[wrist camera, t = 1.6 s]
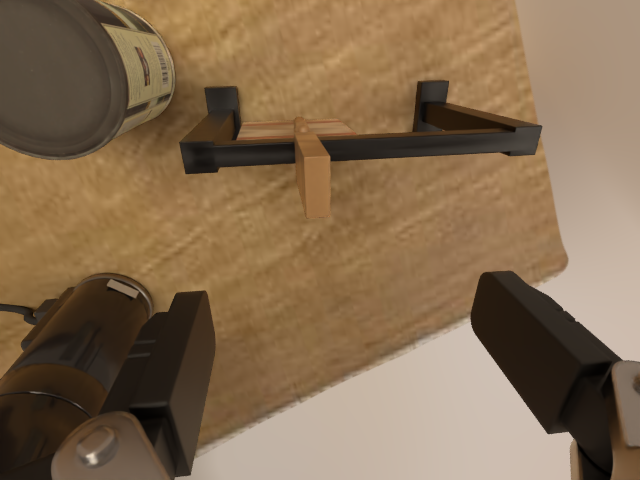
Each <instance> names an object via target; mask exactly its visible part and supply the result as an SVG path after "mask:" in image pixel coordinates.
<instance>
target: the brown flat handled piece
mask: <svg viewBox="0 0 640 480" xmlns="http://www.w3.org/2000/svg"><path fill="white" fill-rule="evenodd" d="M343 135H357V134H356V133H355V132H353V131H352V130H351V129H350V128H349V127H347V126H346V125H345V124H344V123H342V122H341V121H340V120H339V119H312V120H304V119H303V118H302V117H296V118H295V119H294V120H287V121H262V122H243V123H242V125H241V128H240V131H239V134H238V137H237V139H236V140H255V139H277V138H294V143H295V163H296V181H297V185H298V189H299V192H300V196H301V200H302V204H303V208H304V212H305V216H306V218H307V219H308V218H322V217H330V155H329V154H328V152H327V151H326V149H325V148H324V146H323V145H322V143H321V142H320V140H319V139H318V137H321V136H343Z"/></svg>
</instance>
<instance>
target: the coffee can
mask: <svg viewBox="0 0 640 480" xmlns="http://www.w3.org/2000/svg"><path fill="white" fill-rule="evenodd" d="M175 82H176V81H175V70H174V64H173V60H172V58H171V55H170V52H169V50H168V48H167V46H166V44H165V42H164V41H163V39H162V37H161V36H160V35H159V33H158V32H157V31H156V30H155V29H154V28H153V27H152V26H151V25H150V24H149V23H148V22H147V21H146V20H144V19H143V18H142V17H140V16H139V15H137V14H136V13H134V12H132V11H130V10H128V9H125V8H123V7H120V6H117V5H113V4H108V3H105V2H102V1H99V0H0V144H2V145H4V146H6V147H8V148H10V149H12V150H14V151H17V152H19V153H22V154H25V155H29V156H32V157H36V158H41V159H48V160H69V159H76V158H80V157H83V156H86V155H89V154H91V153H93V152H95V151H97V150H99V149H100V148H102V147H103V146H105V145H106V144H107V143H108V142H110V141H111V140H112V139H114V138H116V137H118V136H120V135H121V134H123V133H125V132H127V131H129V130H131V129H133V128H135V127H136V126H138V125H140V124H142V123H144V122H147V121H149V120H151V119H153V118H155V117H157V116H159V115H160V114H161V113H162V112H163V111H164V110H165V108H166V107H167V106H168V104H169V103H170V101H171V98H172V96H173V93H174V88H175Z"/></svg>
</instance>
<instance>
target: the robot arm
mask: <svg viewBox="0 0 640 480" xmlns="http://www.w3.org/2000/svg"><path fill="white" fill-rule="evenodd" d="M0 311H9V312H15V313H19V314H22V315H24V320H25V321H26V322H27V323H29V324H32V325H36V326H35V327H34V328H33V329H32V330H31V331H30V333H29V334H28V335H27V336H26V337H25V338H24V339H23V341H22V342H21V348H22V350H23V351H24V352H23V353H22V354H21V355H20V356H19V358H18V359H17V360H16V361H15V362H14V364H13V365H12V366H11V367H10V368H9V370H8V371H7V372H6V373H5V375H4V376H3V377H2V378H1V379H0V480H174V478H175V477H180V476H189V475H191V471H192V466H193V461H194V456H195V451H196V446H197V441H198V436H199V431H200V426H201V421H202V416H203V411H204V406H205V401H206V396H207V391H208V386H209V381H210V376H211V371H212V366H213V361H214V356H215V332H214V326H213V321H212V315H211V310H210V305H209V299H208V295H207V292H206V291H192V292H178V293H176V294H175V296H174V299H173V301H172V304H171V306H170V308H169V311H168V312H159V313H155V314H154V315H153V316H152V313H153V302H152V299H151V297H150V295H149V293H148V292H147V291H146V289H145V288H144V287H142V286H141V285H140V284H139V283H137V282H136V281H134V280H132V279H130V278H128V277H125V276H122V275H117V274H108V273H106V274H97V275H93V276H90V277H87V278H86V279H84V280H82V281H81V282H80V283H79V284H78V285H77V286H76V287H71V288H67V290H66V291H65V292H64V293H63V294H62V295H61V297H60V298H59V299H49V300H45V301H44V303H43V304H42V305H41V306H40V307H39V308H38V309H37V310H36V311H35V312H34V315H35V317H33V311H32V310H30V309H28V308H26V307H22V306H16V305H7V304H0ZM151 316H152V317H151ZM471 325H472V328H473V331H474V333H475V334H476V336H477V337H478V339H479V340H480V341H481V343H482V344H483V345H484V347H485V348H486V349H487V351H488V352H489V354H490V355H491V356H492V358H493V359H494V361H495V362H496V363H497V365H498V366H499V368H500V369H501V370H502V372H503V373H504V374H505V376H506V377H507V379H508V380H509V381H510V383H511V384H512V385H513V387H514V388H515V389H516V391H517V392H518V394H519V395H520V396H521V398H522V399H523V401H524V402H525V403H526V405H527V406H528V407H529V409H530V410H531V412H532V413H533V414H534V416H535V417H536V418H537V420H538V421H539V423H540V424H541V425H542V427H543V428H544V429H545V431H546V432H547V434H554V433H562V432H569V433H570V434H571V435H572V437H573V438H574V439H573V441H572V443H571V446H570V464H571V480H640V362H637V361H629V360H628V361H623V360H622V359H621V358H620V357H618V356H617V355H616V354H615V353H614V352H613V351H611V350H610V349H609V348H608V347H607V346H606V345H605V344H604V343H602V342H601V341H600V340H599V339H598V338H597V337H595V336H594V335H593V334H592V333H591V332H590V331H589V330H587V329H586V328H585V327H584V326H583V325H582V324H580V323H579V322H576V321H575V318H573V317H572V316H571V315H570V314H569V313H568V312H567V311H563V308H562V307H561V306H560V305H559V304H557V303H556V302H555V301H554V300H553V299H552V298H551V297H549V296H548V295H546V294H544V293H542V292H540V291H538V290H537V289H535V288H533V287H531V286H529V285H528V284H526V283H525V282H524V281H523V280H522V279H521V278H520V277H519V276H518V275H516V274H515V273H514V272H512V271H496V272H485V273H483V274H482V275H481V276H480V279H479V282H478V286H477V290H476V294H475V298H474V302H473V306H472V310H471Z"/></svg>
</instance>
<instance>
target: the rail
mask: <svg viewBox="0 0 640 480" xmlns="http://www.w3.org/2000/svg"><path fill="white" fill-rule="evenodd" d="M448 85H449V81H445V80H440V81H418V85H417V95H416V105H415V114H414V124H413V132H409V133H387V134H365V135H343V136H321V137H318V139H319V140H320V142H321V143H322V145H323V146H324V148H325V149H326V151H327V152H328V154H329V155H330V162H331V161H349V160H368V159H386V158H405V157H424V156H442V155H461V154H479V153H498V152H500V153H503V154H505V155H508V156H522V155H535V152H536V149H537V145H538V141H539V138H540V134H541V130H542V126H541V125H537V124H533V123H528V122H524V121H520V120H516V119H512V118H508V117H504V116H499V115H495V114H491V113H487V112H483V111H479V110H475V109H470V108H466V107H462V106H458V105H454V104H450V103H446V99H447V92H448ZM205 95H206V101H207V107H208V115H207V116H206V117H205V118H204V119H203V120H202V121H201V122H200V123H199V124H198V125H197V126H196V127H195V128H194V129H193V130H192V131H191V132H190V133H189V134H188V135H187V136H185V137H184V138H183V139H182V140H181V141H180V142H179V143H180V148H181V153H182V158H183V163H184V168H185V173H186V174H198V173H216V172H218V170H219V168H220V167H238V166H256V165H275V164H293V163H295V143H294V138H277V139H255V140H236V139H237V137H238V134H239V131H240V128H241V118H240V110H239V101H238V93H237V86H224V87H206V88H205ZM442 130H445V131H442Z"/></svg>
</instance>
